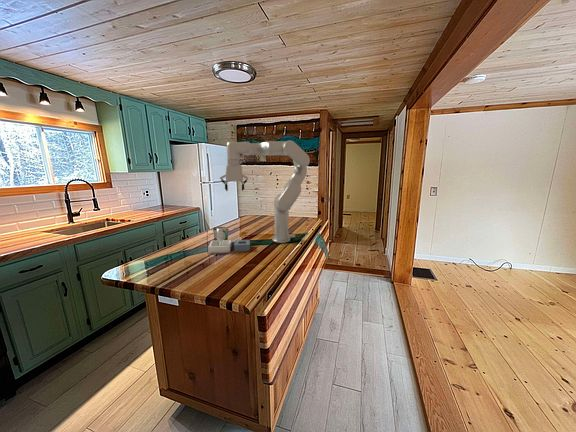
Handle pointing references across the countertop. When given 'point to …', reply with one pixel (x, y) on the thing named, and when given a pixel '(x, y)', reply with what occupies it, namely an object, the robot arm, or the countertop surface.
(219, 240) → the steel pin
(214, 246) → the parts tray
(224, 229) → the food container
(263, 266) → the countertop surface
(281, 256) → the countertop surface
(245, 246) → the block
